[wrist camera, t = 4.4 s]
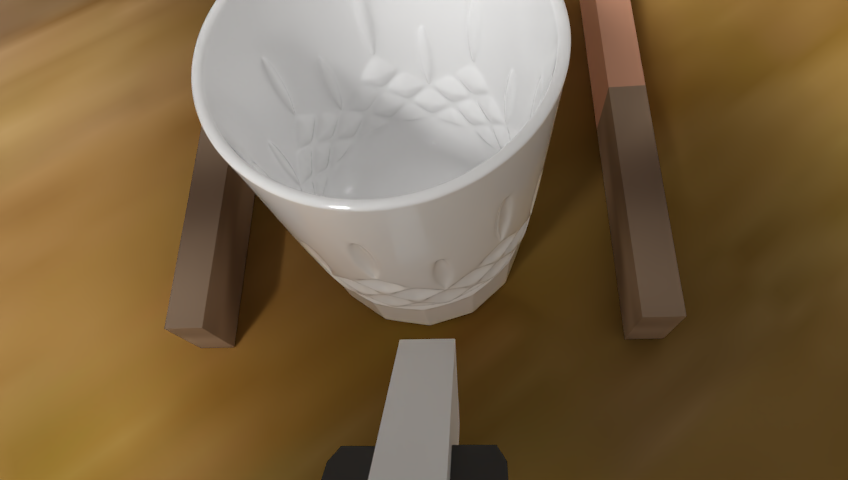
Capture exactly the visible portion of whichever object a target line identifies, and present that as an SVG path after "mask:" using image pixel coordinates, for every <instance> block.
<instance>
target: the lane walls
mask: <svg viewBox="0 0 848 480" xmlns="http://www.w3.org/2000/svg"><path fill="white" fill-rule="evenodd" d="M597 135H598V142H599V150H600V157H601V165H602V173H603V180H604V188H605V195H606V203H607V210H608V218H609V225H610V233H611V240H612V248H613V255H614V263H615V270H616V278H617V285H618V293H619V301H620V308H621V316H622V323H623V331H624V338H625V339H663V338H664V337H665V336H666V335H667V334H669V333H670V332H671V331H672V330H673V329H674V328H675V327H676V326H677V325H678V324H679V323H680V322H681V321H682V320H683V319H684V318H685V317H686V310H685V304H684V299H683V293H682V287H681V282H680V276H679V271H678V265H677V259H676V254H675V248H674V243H673V237H672V231H671V226H670V220H669V215H668V209H667V203H666V198H665V192H664V186H663V181H662V175H661V170H660V164H659V158H658V153H657V147H656V142H655V136H654V130H653V125H652V119H651V113H650V108H649V102H648V97H647V91H646V85H640V86H624V87H609V88H608V92H607V95H606V99H605V102H604V106H603V109H602V113H601V117H600V120H599V124H598V127H597ZM254 197H255V193H254V192H253V191H252V190H251V188H250V187H249V186H248V185H247V184H246V183H245V182H244V181H243V180H242V178H241V177H240V176H239V175H238V174H237V173H236V172H235V171H234V170H233V169H232V167H231V166H230V165H229V164H228V163H227V162H226V161H225V160H224V159H223V158H222V156H221V155H220V154H219V153H218V152H217V150H216V149H215V148H214V146H213V145H212V143H211V142H210V140H209V139H208V137H207V135H206V133H205V131H204V129H203V127H201V133H200V138H199V144H198V149H197V154H196V160H195V165H194V171H193V176H192V182H191V187H190V192H189V198H188V203H187V209H186V214H185V220H184V225H183V230H182V236H181V241H180V247H179V252H178V258H177V263H176V268H175V274H174V279H173V285H172V290H171V296H170V301H169V306H168V312H167V317H166V323H165V328H164V329H166V330H168V331H169V332H171V333H173V334H175V335H177V336H179V337H181V338H183V339H185V340H187V341H188V342H190V343H192V344H194V345H196V346H198V347H200V348H225V347H234V346H235V339H236V331H237V324H238V316H239V309H240V301H241V294H242V287H243V279H244V272H245V264H246V257H247V249H248V242H249V234H250V227H251V220H252V212H253V205H254Z"/></svg>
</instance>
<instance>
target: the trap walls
mask: <svg viewBox="0 0 848 480" xmlns="http://www.w3.org/2000/svg"><path fill="white" fill-rule="evenodd" d="M580 7H581V14H582V22H583V29H584V37H585V45H586V52H587V60H588V67H589V75H590V82H591V90H592V97H593V105H594V112H595V120H596V127H598V124H599V120H600V117H601V113H602V109H603V106H604V102H605V99H606V95H607V92H608V88H609V87H624V86H640V85H645V80H644V74H643V69H642V63H641V57H640V52H639V46H638V40H637V35H636V29H635V24H634V18H633V12H632V7H631V1H630V0H580Z"/></svg>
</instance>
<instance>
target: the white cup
mask: <svg viewBox="0 0 848 480" xmlns="http://www.w3.org/2000/svg"><path fill="white" fill-rule="evenodd" d="M570 53H571V30H570V22H569V17H568V12H567V9H566V5H565V2H564V0H216V1H215V3H214V4H213V6H212V8H211V9H210V11H209V13H208V15H207V17H206V19H205V21H204V23H203V25H202V27H201V30H200V33H199V35H198V39H197V42H196V45H195V50H194V54H193V60H192V71H191V83H192V94H193V100H194V104H195V108H196V112H197V115H198V118H199V120H200V123H201V125H202V127H203V129H204V131H205V133H206V135H207V137H208V139H209V140H210V142H211V143H212V145H213V146H214V148H215V149H216V150H217V152H218V153H219V154H220V155H221V156H222V158H223V159H224V160H225V161H226V162H227V163H228V164H229V165H230V166H231V167H232V169H233V170H234V171H235V172H236V173H237V174H238V175H239V176H240V177H241V178H242V180H243V181H244V182H245V183H246V184H247V185H248V186H249V187H250V188H251V190H252V191H253V192H254V193H255V194H256V195H257V196H258V197H259V198H260V200H261V201H262V202H263V203H264V204H265V205H266V206H267V208H268V209H269V210H270V211H271V212H272V213H273V214H274V215H275V217H276V218H277V219H278V220H279V221H280V222H281V223H282V225H283V226H284V227H285V228H286V229H287V230H288V231H289V232H290V234H291V235H292V236H293V237H294V238H295V239H296V240H297V242H298V243H299V244H300V245H301V246H302V247H303V248H304V249H305V250H306V251H307V252H308V253H309V254H310V255H311V256H312V257H313V258H314V259H315V260H316V261H317V262H318V263H319V264H320V265H321V266H322V267H323V268H324V269H325V270H326V271H327V272H328V273H329V274H330V275H331V276H332V277H333V278H334V279H335V280H336V281H338V282H339V283H340V284H341V285H342V286H343V287H344V288H345V289H346V290H347V291H348V293H349V294H350V295H351V296H353V297H354V298H356V299H357V300H358V301H360V302H361V303H363V304H364V305H366V306H367V307H369V308H370V309H372V310H373V311H374V312H376V313H377V314H379V315H380V316H382V317H383V318H385V319H388V320H394V321H401V322H408V323H415V324H422V325H433V324H436V323H440V322H443V321H446V320H450V319H453V318H456V317H460V316H463V315H466V314H469V313H472V312H474V311H475V310H476V309H477V308H478V307H479V306H481V305H482V304H483V303H484V302H485V301H486V300H487V299H488V298H489V297H490V296H492V295H493V294H494V293H495V292H496V291H497V290H498V289H499V288H500V287H502V286H503V285H504V284H505V283H506V280H507V278H508V275H509V273H510V270H511V268H512V265H513V262H514V260H515V257H516V255H517V252H518V249H519V247H520V244H521V240H522V239H523V237H524V235H525V232H526V229H527V226H528V223H529V219H530V216H531V214H532V209H533V206H534V203H535V200H536V196H537V193H538V189H539V185H540V181H541V177H542V173H543V169H544V164H545V160H546V156H547V152H548V147H549V143H550V139H551V135H552V131H553V127H554V123H555V119H556V115H557V111H558V107H559V103H560V99H561V95H562V91H563V87H564V83H565V79H566V75H567V71H568V66H569V60H570Z"/></svg>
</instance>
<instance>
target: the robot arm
mask: <svg viewBox="0 0 848 480" xmlns="http://www.w3.org/2000/svg"><path fill="white" fill-rule="evenodd" d="M459 427H460V420H459V401H458V382H457V363H456V345H455V339H404V340H399V345H398V349H397V354H396V358H395V362H394V367H393V371H392V376H391V380H390V384H389V389H388V393H387V398H386V402H385V407H384V411H383V415H382V420H381V424H380V429H379V433H378V437H377V442H376V446H341V447H340V448H339V449H338V450H337V451H336V452H335V454H334V455H333V456H332V457H331V458H330V459H329V460H328V462H327V463H326V467H325V470H324V473H323V476H322V479H321V480H508V468H507V461H506V459H505V458H504V456H503V454H502V453H501V451H500V450H499V448H498V447H497V445H459Z"/></svg>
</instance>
